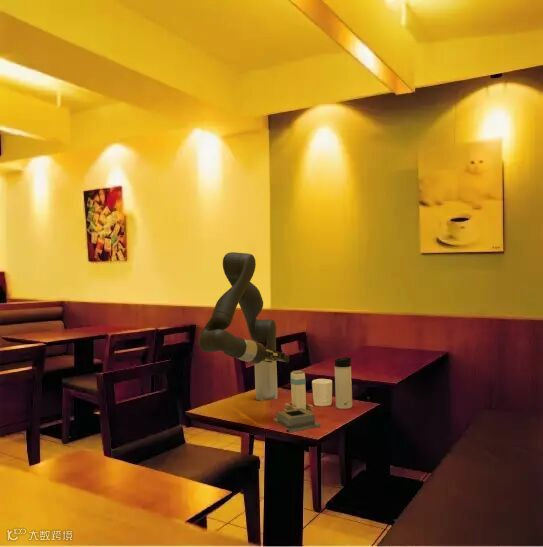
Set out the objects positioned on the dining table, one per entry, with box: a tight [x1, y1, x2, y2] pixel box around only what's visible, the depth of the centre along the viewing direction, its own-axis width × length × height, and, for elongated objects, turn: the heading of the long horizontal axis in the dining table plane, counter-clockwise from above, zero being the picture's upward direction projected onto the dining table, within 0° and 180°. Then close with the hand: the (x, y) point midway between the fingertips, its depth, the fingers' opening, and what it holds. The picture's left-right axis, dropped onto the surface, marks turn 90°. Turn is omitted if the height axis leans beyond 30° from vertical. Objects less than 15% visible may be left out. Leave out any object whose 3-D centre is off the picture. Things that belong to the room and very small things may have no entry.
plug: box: [290, 369, 307, 410], centre depth 210 cm, size 4×4×15 cm
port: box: [271, 408, 321, 433], centre depth 195 cm, size 14×12×4 cm
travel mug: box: [334, 356, 353, 410], centre depth 212 cm, size 6×7×20 cm
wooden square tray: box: [283, 402, 315, 413], centre depth 210 cm, size 9×9×3 cm
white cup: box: [311, 378, 333, 407], centre depth 218 cm, size 8×8×10 cm
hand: (279, 359), depth 206 cm, fingers open, 8 cm apart
